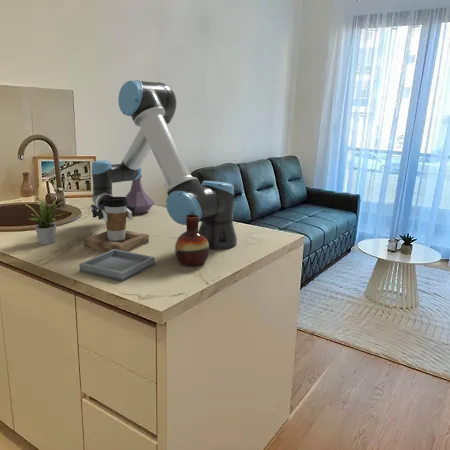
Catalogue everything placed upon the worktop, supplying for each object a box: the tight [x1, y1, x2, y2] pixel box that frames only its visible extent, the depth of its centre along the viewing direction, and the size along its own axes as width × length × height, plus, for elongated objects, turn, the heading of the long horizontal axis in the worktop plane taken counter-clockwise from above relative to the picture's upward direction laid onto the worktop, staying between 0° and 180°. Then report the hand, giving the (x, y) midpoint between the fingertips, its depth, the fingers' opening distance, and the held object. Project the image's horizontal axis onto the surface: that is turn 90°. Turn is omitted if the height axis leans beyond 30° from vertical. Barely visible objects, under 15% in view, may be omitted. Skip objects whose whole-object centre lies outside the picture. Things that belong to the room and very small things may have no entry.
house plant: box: [24, 198, 66, 246], centre depth 152 cm, size 14×14×16 cm
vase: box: [174, 215, 210, 267], centre depth 137 cm, size 11×11×15 cm
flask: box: [125, 174, 155, 215], centre depth 201 cm, size 16×16×20 cm
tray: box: [78, 249, 156, 282], centre depth 132 cm, size 16×16×2 cm
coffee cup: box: [103, 196, 128, 242], centre depth 151 cm, size 8×8×15 cm
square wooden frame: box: [83, 230, 150, 253], centre depth 153 cm, size 16×16×3 cm
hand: (118, 217), depth 147 cm, fingers closed on coffee cup, 8 cm apart
